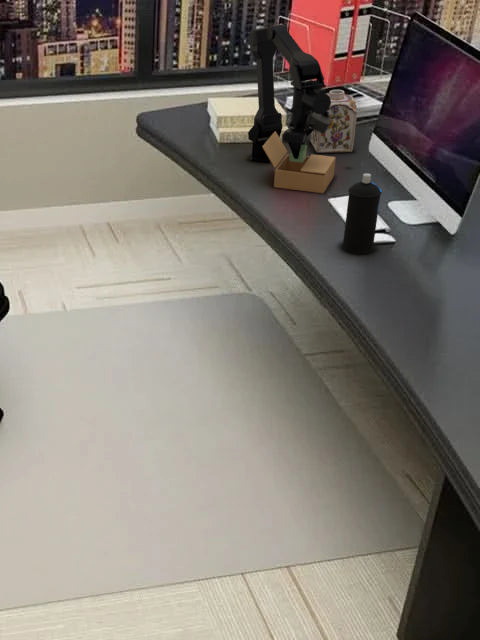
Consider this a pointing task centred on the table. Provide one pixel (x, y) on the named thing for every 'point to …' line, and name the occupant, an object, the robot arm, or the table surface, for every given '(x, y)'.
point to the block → (301, 155)
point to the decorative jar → (337, 125)
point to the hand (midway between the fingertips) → (297, 156)
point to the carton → (305, 173)
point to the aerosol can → (361, 216)
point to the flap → (274, 149)
